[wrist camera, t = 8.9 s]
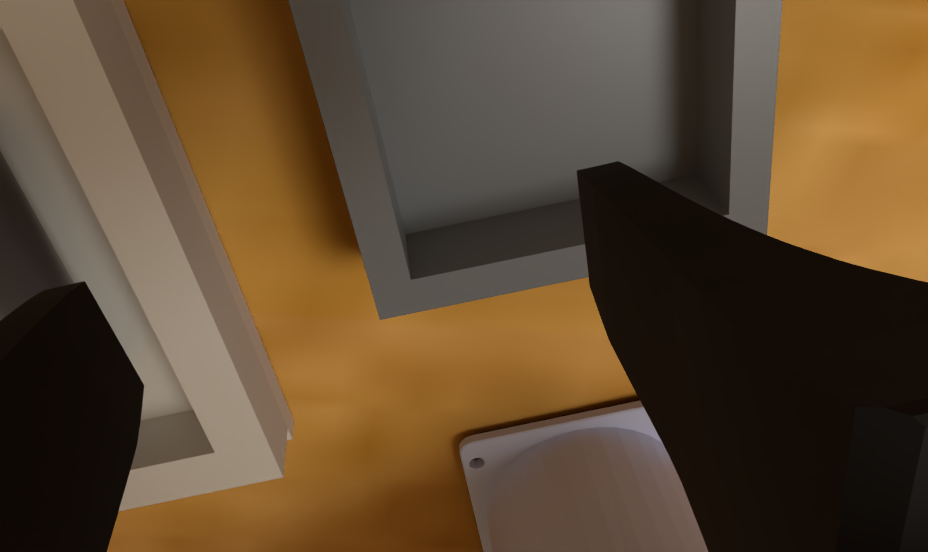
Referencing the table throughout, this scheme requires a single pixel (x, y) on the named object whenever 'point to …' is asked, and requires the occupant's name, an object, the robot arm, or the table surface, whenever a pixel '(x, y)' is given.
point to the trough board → (139, 245)
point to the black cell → (23, 248)
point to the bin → (530, 126)
